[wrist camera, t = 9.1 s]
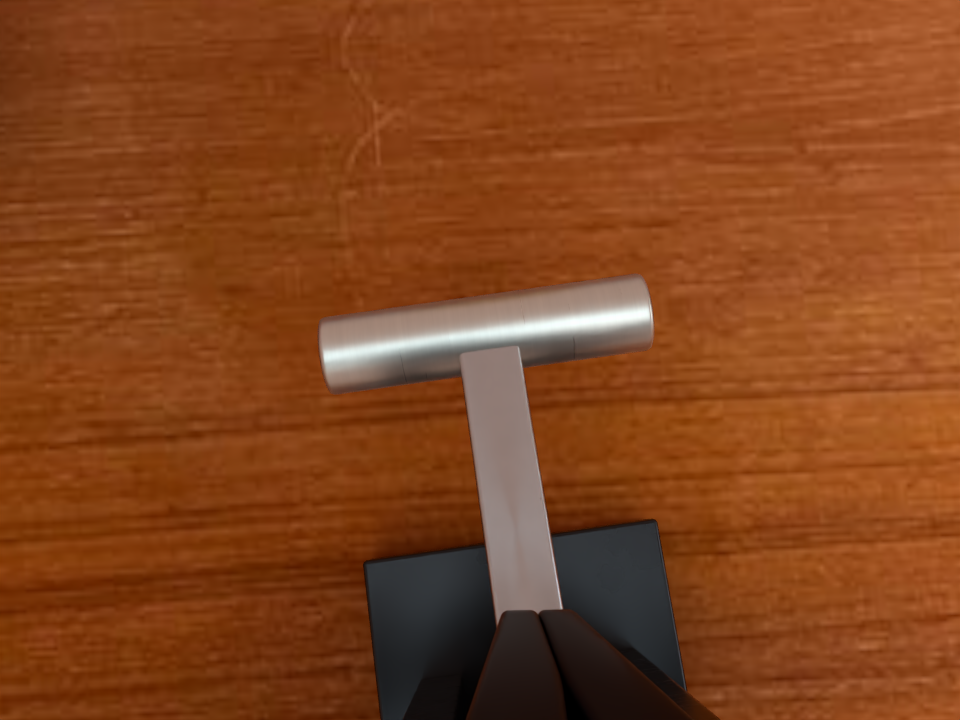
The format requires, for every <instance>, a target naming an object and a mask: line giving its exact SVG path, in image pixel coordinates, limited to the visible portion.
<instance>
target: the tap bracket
mask: <svg viewBox="0 0 960 720" xmlns="http://www.w3.org/2000/svg"><path fill="white" fill-rule="evenodd" d="M551 537H552V543H553V549H554V555H555V561H556V567H557V573H558V579H559V585H560V591H561V597H562V603H563V609H570V610H572V611H574V612H576V613H577V614H578V615H579V616H580V617H581V618H582V619H584V620H585V621H586V622H587V623H588V624H589V625H590V626H591V627H592V628H593V629H595V630H596V631H597V632H598V633H599V634H600V635H601V636H602V637H603V638H604V639H606V640H607V641H608V642H609V643H610V644H611V645H612V646H613V647H614V648H615V649H617V650H618V651H619V652H620V653H621V654H622V655H623V656H624V657H625V658H626V659H628V660H629V661H630V662H631V663H632V664H633V665H634V666H635V667H636V668H637V669H639V670H640V671H641V672H642V673H643V674H644V675H645V676H646V677H647V678H648V679H650V680H651V681H652V682H653V683H654V684H655V685H656V686H657V687H658V688H659V689H661V690H662V691H663V692H664V693H665V694H666V695H667V696H668V697H669V698H670V699H672V700H673V701H674V702H675V703H676V704H677V705H678V706H679V707H680V708H681V709H683V710H684V711H685V712H686V713H687V714H688V715H689V716H690V717H691V718H692V719H694V720H720V719H719V718H718V717H717V716H715V715H714V714H713V713H712V712H711V711H709V710H708V709H707V708H706V707H705V706H704V705H702V704H701V703H700V702H699V701H698V700H696V699H695V698H694V697H693V696H692V695H690V694H689V693H688V692H687V687H686V681H685V675H684V670H683V664H682V659H681V653H680V647H679V642H678V636H677V630H676V625H675V619H674V614H673V608H672V602H671V597H670V591H669V585H668V580H667V574H666V569H665V563H664V557H663V552H662V546H661V541H660V535H659V529H658V524H657V521H656V520H655V519H644V520H637V521H630V522H623V523H617V524H610V525H603V526H596V527H589V528H582V529H575V530H568V531H561V532H554V533H551ZM363 568H364V577H365V586H366V595H367V603H368V612H369V621H370V630H371V639H372V648H373V656H374V665H375V674H376V683H377V692H378V701H379V710H380V718H381V720H466V717H467V714H468V711H469V708H470V706H471V703H472V700H473V697H474V694H475V691H476V688H477V685H478V682H479V679H480V676H481V673H482V670H483V667H484V664H485V661H486V658H487V655H488V652H489V649H490V646H491V643H492V640H493V637H494V634H495V631H496V622H495V615H494V608H493V600H492V593H491V586H490V579H489V571H488V564H487V557H486V550H485V543H478V544H472V545H465V546H458V547H451V548H444V549H437V550H430V551H423V552H416V553H409V554H402V555H396V556H389V557H382V558H375V559H370V560H366V561H365V562H364V564H363Z"/></svg>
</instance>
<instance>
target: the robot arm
mask: <svg viewBox="0 0 960 720" xmlns="http://www.w3.org/2000/svg"><path fill="white" fill-rule="evenodd" d="M466 720H694V719H692V718H691V717H690V716H689V715H688V714H687V713H686V712H685V711H684V710H683V709H681V708H680V707H679V706H678V705H677V704H676V703H675V702H674V701H673V700H672V699H670V698H669V697H668V696H667V695H666V694H665V693H664V692H663V691H662V690H661V689H659V688H658V687H657V686H656V685H655V684H654V683H653V682H652V681H651V680H650V679H648V678H647V677H646V676H645V675H644V674H643V673H642V672H641V671H640V670H639V669H637V668H636V667H635V666H634V665H633V664H632V663H631V662H630V661H629V660H628V659H626V658H625V657H624V656H623V655H622V654H621V653H620V652H619V651H618V650H617V649H615V648H614V647H613V646H612V645H611V644H610V643H609V642H608V641H607V640H606V639H604V638H603V637H602V636H601V635H600V634H599V633H598V632H597V631H596V630H595V629H593V628H592V627H591V626H590V625H589V624H588V623H587V622H586V621H585V620H584V619H582V618H581V617H580V616H579V615H578V614H577V613H576V612H574V611H572V610H570V609H552V610H542V611H540V612H539V613H538V614H537V612H535V611H533V610H506V611H504V612H503V613H502V614H501V617H500V619H499V622H498V625H497V628H496V631H495V634H494V637H493V640H492V643H491V646H490V649H489V652H488V655H487V658H486V661H485V664H484V667H483V670H482V673H481V676H480V679H479V682H478V685H477V688H476V691H475V694H474V697H473V700H472V703H471V706H470V708H469V711H468V714H467V717H466Z"/></svg>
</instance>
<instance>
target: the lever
mask: <svg viewBox="0 0 960 720" xmlns="http://www.w3.org/2000/svg"><path fill="white" fill-rule="evenodd" d="M653 339H654V314H653V307H652V301H651V297H650V293H649V289H648V287H647V284H646V282H645V280H644V278H643V277H642V276H641V275H639V274H630V275H623V276H616V277H609V278H602V279H595V280H588V281H581V282H573V283H566V284H559V285H552V286H545V287H538V288H531V289H524V290H516V291H509V292H502V293H495V294H488V295H481V296H474V297H466V298H459V299H452V300H445V301H438V302H431V303H424V304H417V305H409V306H402V307H395V308H388V309H381V310H374V311H367V312H360V313H352V314H345V315H338V316H331V317H324V318H322V319H321V320H320V322H319V326H318V349H319V357H320V363H321V368H322V373H323V377H324V380H325V383H326V386H327V388H328V390H329V392H330V393H332V394H343V393H350V392H357V391H364V390H372V389H379V388H386V387H393V386H400V385H407V384H414V383H421V382H428V381H435V380H442V379H449V378H456V377H462V383H463V390H464V398H465V405H466V412H467V419H468V427H469V434H470V441H471V448H472V456H473V463H474V470H475V477H476V485H477V492H478V499H479V506H480V514H481V521H482V528H483V535H484V543H485V550H486V557H487V564H488V571H489V579H490V586H491V593H492V600H493V608H494V615H495V622H496V628H497V625H498V622H499V619H500V617H501V614H502V613H503V612H504V611H506V610H533V611H535V612H537V614H538V613H539V612H540V611H542V610H552V609H563V603H562V597H561V591H560V585H559V579H558V573H557V567H556V561H555V555H554V549H553V543H552V537H551V531H550V525H549V519H548V513H547V507H546V501H545V495H544V489H543V483H542V478H541V472H540V466H539V460H538V454H537V448H536V442H535V436H534V430H533V424H532V418H531V412H530V406H529V400H528V394H527V388H526V382H525V376H524V370H523V368H527V367H534V366H541V365H548V364H555V363H562V362H569V361H576V360H583V359H590V358H597V357H604V356H611V355H618V354H626V353H633V352H640V351H646V350H648V349H650V348H651V347H652V344H653Z"/></svg>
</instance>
